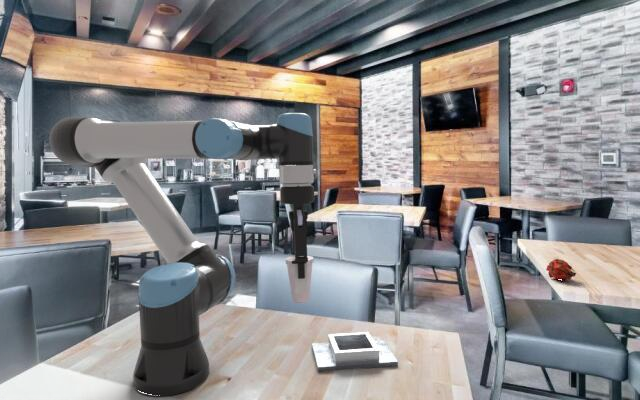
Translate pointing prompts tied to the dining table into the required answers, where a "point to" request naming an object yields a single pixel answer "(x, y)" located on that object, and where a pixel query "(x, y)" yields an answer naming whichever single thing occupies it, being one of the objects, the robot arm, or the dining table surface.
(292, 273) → the smoothie
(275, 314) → the dining table surface
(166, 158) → the robot arm
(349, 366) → the collar
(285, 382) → the dining table surface
